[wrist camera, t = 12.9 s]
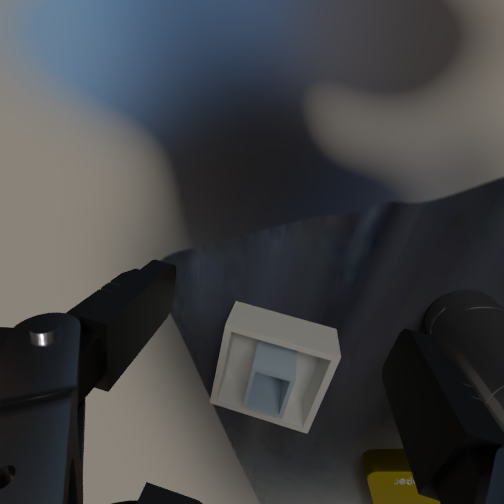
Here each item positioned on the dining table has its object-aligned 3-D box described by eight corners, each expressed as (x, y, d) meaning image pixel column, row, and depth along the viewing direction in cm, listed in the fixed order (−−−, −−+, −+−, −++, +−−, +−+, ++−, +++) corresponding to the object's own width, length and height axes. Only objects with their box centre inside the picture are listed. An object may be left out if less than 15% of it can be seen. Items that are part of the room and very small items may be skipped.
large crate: (336, 329, 42) (340, 357, 36) (307, 400, 48) (307, 433, 43) (235, 301, 43) (225, 324, 38) (220, 373, 50) (209, 402, 44)
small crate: (297, 344, 43) (295, 379, 37) (285, 380, 46) (282, 419, 40) (260, 333, 44) (252, 367, 37) (250, 370, 47) (242, 407, 40)
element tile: (453, 445, 47) (468, 476, 42) (459, 500, 51) (473, 534, 47) (360, 447, 51) (365, 476, 46) (373, 498, 55) (379, 529, 51)
